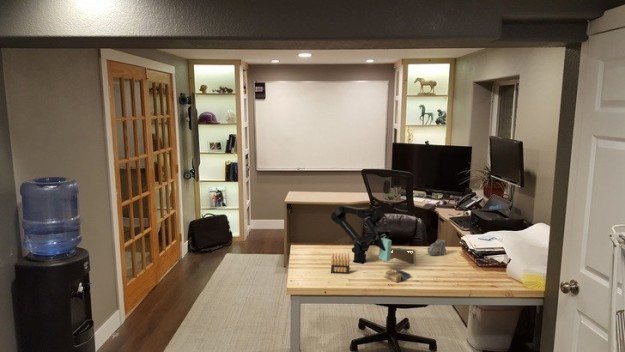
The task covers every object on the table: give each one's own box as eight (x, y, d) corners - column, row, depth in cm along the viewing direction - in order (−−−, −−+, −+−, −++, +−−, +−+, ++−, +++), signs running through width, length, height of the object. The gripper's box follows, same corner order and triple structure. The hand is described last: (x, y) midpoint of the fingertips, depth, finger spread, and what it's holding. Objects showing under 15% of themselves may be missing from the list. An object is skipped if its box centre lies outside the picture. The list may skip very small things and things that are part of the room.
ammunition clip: (349, 272, 248) (350, 253, 246) (349, 274, 246) (350, 254, 244) (330, 272, 249) (331, 252, 246) (330, 273, 247) (331, 253, 245)
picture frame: (383, 262, 262) (384, 245, 290) (383, 264, 262) (384, 248, 291) (415, 264, 258) (414, 248, 287) (415, 267, 258) (414, 250, 287)
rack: (383, 278, 240) (383, 273, 239) (396, 273, 247) (396, 268, 246) (397, 284, 232) (397, 279, 232) (410, 279, 239) (411, 274, 239)
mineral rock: (427, 256, 275) (428, 241, 273) (424, 250, 285) (425, 236, 284) (448, 257, 274) (449, 242, 272) (444, 251, 284) (445, 236, 283)
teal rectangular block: (378, 258, 250) (380, 238, 248) (382, 257, 252) (383, 237, 250) (386, 261, 245) (387, 241, 243) (390, 260, 247) (391, 240, 245)
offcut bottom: (385, 277, 239) (385, 275, 239) (390, 275, 242) (390, 273, 241) (396, 282, 233) (396, 280, 233) (401, 280, 236) (401, 278, 235)
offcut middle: (384, 275, 239) (384, 273, 239) (389, 273, 242) (389, 271, 242) (396, 279, 233) (396, 277, 233) (400, 278, 236) (401, 275, 236)
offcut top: (385, 273, 238) (386, 271, 238) (390, 271, 241) (390, 269, 241) (397, 278, 232) (397, 276, 232) (402, 276, 235) (402, 274, 235)
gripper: (369, 222, 242) (384, 246, 235) (391, 216, 253) (405, 239, 247) (359, 232, 249) (372, 256, 243) (380, 226, 261) (394, 249, 254)
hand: (386, 249), depth 246 cm, fingers closed on teal rectangular block, 3 cm apart
